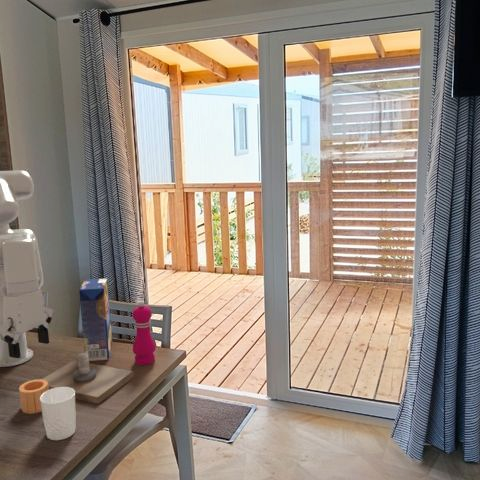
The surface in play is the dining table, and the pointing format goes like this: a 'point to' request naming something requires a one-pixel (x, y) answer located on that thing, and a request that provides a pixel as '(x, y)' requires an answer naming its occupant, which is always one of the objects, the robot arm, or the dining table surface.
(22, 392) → the ring
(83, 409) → the dining table surface
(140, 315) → the pepper mill
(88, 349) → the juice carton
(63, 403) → the white cup
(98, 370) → the post board
